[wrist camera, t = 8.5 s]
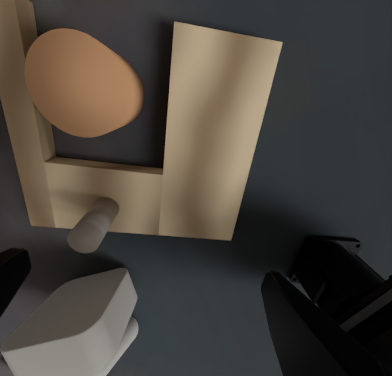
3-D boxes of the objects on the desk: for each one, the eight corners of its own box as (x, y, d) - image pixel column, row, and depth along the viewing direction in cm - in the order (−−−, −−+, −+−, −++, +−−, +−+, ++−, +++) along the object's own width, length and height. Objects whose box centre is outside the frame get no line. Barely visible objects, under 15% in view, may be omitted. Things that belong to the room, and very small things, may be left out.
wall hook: (102, 339, 26) (45, 456, 16) (73, 271, 24) (-12, 356, 14) (161, 326, 25) (139, 437, 16) (136, 256, 24) (93, 331, 14)
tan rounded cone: (143, 130, 16) (127, 142, 11) (78, 122, 15) (35, 131, 11) (145, 59, 14) (126, 38, 9) (71, 46, 13) (13, 18, 9)
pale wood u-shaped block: (272, 48, 14) (328, 15, 9) (227, 230, 20) (243, 277, 15) (-3, -4, 12) (-154, -89, 7) (43, 215, 18) (-16, 264, 13)
